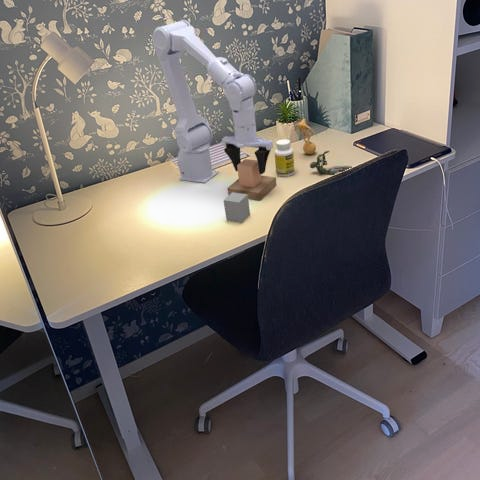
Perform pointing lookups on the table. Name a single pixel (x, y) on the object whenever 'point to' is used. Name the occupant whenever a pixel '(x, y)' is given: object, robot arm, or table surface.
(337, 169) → the zombie figurine
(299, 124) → the figurine
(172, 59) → the robot arm
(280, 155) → the supplement bottle
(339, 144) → the table surface
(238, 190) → the walnut slab
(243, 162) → the terracotta block
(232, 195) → the medium grey block
